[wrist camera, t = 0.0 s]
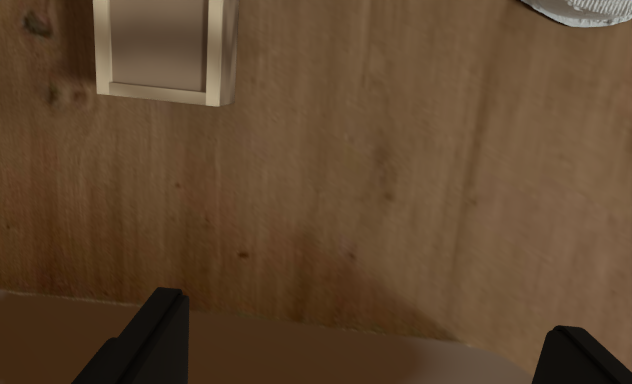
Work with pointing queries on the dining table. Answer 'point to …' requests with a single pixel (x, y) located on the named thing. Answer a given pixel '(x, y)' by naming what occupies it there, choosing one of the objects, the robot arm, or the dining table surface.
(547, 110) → the dining table surface
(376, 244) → the dining table surface
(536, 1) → the grey round flat slab
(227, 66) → the wooden open box
